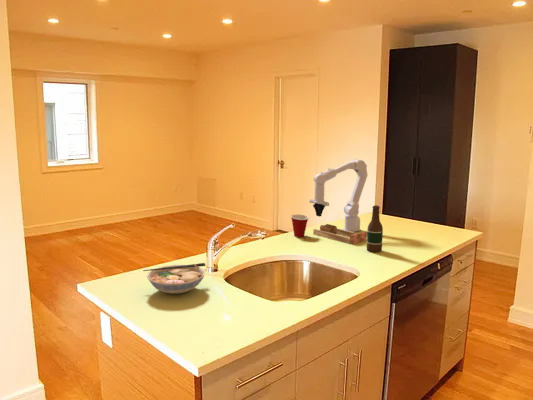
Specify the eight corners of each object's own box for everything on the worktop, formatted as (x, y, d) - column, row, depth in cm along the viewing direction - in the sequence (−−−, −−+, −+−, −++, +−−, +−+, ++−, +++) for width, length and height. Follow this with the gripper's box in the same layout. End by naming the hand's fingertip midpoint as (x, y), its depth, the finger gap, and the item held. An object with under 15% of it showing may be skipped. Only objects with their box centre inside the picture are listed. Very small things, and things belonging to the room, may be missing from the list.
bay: (328, 230, 282) (328, 223, 281) (366, 240, 260) (367, 232, 259) (313, 234, 274) (313, 226, 273) (351, 244, 251) (352, 235, 250)
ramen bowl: (145, 305, 168) (144, 284, 166) (143, 284, 189) (142, 265, 188) (212, 298, 175) (212, 278, 173) (203, 278, 196) (203, 260, 195)
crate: (327, 232, 278) (328, 223, 277) (336, 234, 273) (336, 225, 272) (319, 234, 274) (320, 225, 273) (328, 236, 268) (328, 227, 267)
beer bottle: (382, 253, 235) (384, 207, 231) (366, 252, 236) (368, 206, 232) (381, 249, 242) (383, 204, 238) (366, 248, 244) (368, 204, 240)
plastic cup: (302, 239, 262) (302, 218, 260) (286, 236, 268) (286, 216, 266) (312, 235, 270) (312, 215, 268) (297, 232, 277) (297, 213, 275)
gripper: (306, 193, 278) (305, 215, 281) (323, 196, 267) (323, 218, 270) (314, 192, 283) (313, 213, 285) (331, 195, 272) (331, 217, 274)
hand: (318, 216), depth 278 cm, fingers closed
